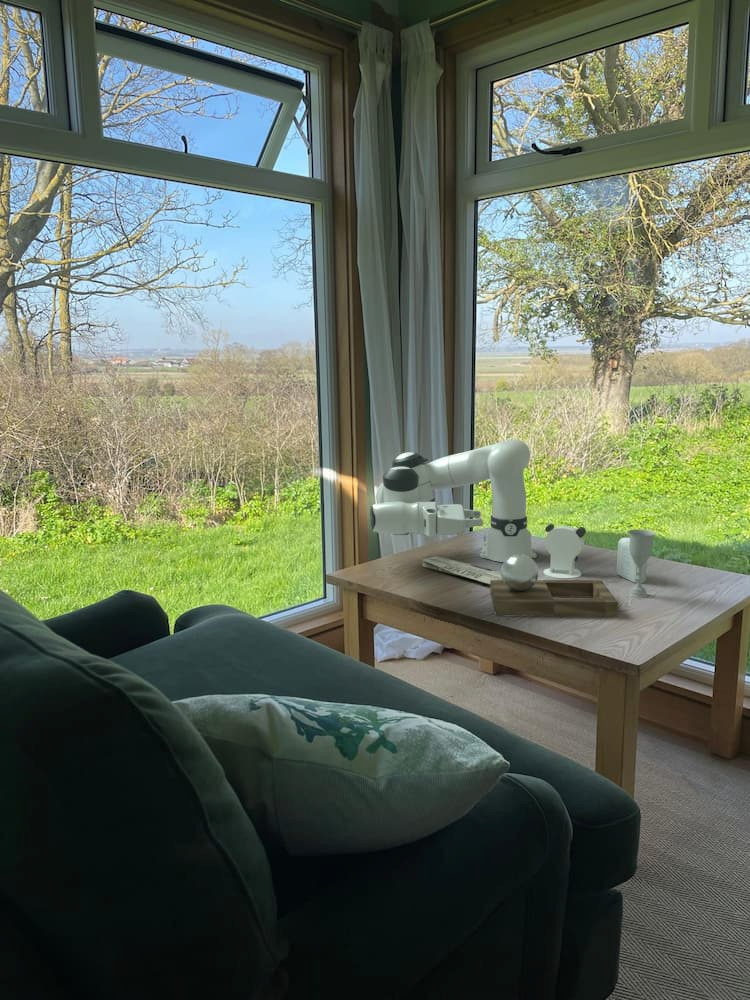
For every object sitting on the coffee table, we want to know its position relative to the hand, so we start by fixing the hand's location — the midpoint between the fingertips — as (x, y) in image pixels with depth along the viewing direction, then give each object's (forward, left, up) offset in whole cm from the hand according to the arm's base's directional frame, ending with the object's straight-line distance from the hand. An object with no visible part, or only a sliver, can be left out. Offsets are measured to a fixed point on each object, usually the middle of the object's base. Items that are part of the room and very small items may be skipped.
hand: (481, 518), depth 191 cm
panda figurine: (-28, +27, -24) cm, 46 cm away
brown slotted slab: (0, +18, -24) cm, 30 cm away
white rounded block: (-23, +46, -24) cm, 57 cm away
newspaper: (-26, -1, -25) cm, 36 cm away
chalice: (-8, +44, -24) cm, 51 cm away
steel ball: (0, +10, -15) cm, 18 cm away
